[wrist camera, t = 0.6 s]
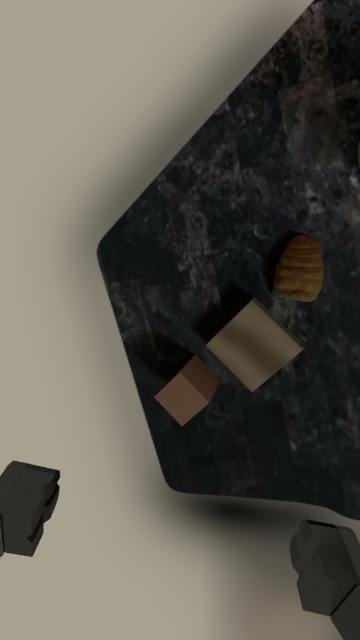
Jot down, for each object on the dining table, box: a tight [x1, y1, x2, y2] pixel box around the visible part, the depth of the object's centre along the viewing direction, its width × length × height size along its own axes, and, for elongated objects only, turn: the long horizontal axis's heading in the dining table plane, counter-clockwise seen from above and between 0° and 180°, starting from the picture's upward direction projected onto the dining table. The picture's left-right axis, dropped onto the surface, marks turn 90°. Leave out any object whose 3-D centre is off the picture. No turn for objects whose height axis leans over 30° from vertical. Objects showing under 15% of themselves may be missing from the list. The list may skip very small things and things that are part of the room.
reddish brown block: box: [155, 355, 220, 426], centre depth 49 cm, size 6×6×9 cm
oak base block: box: [206, 298, 303, 392], centre depth 47 cm, size 10×10×4 cm
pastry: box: [272, 235, 324, 302], centre depth 43 cm, size 9×7×4 cm
